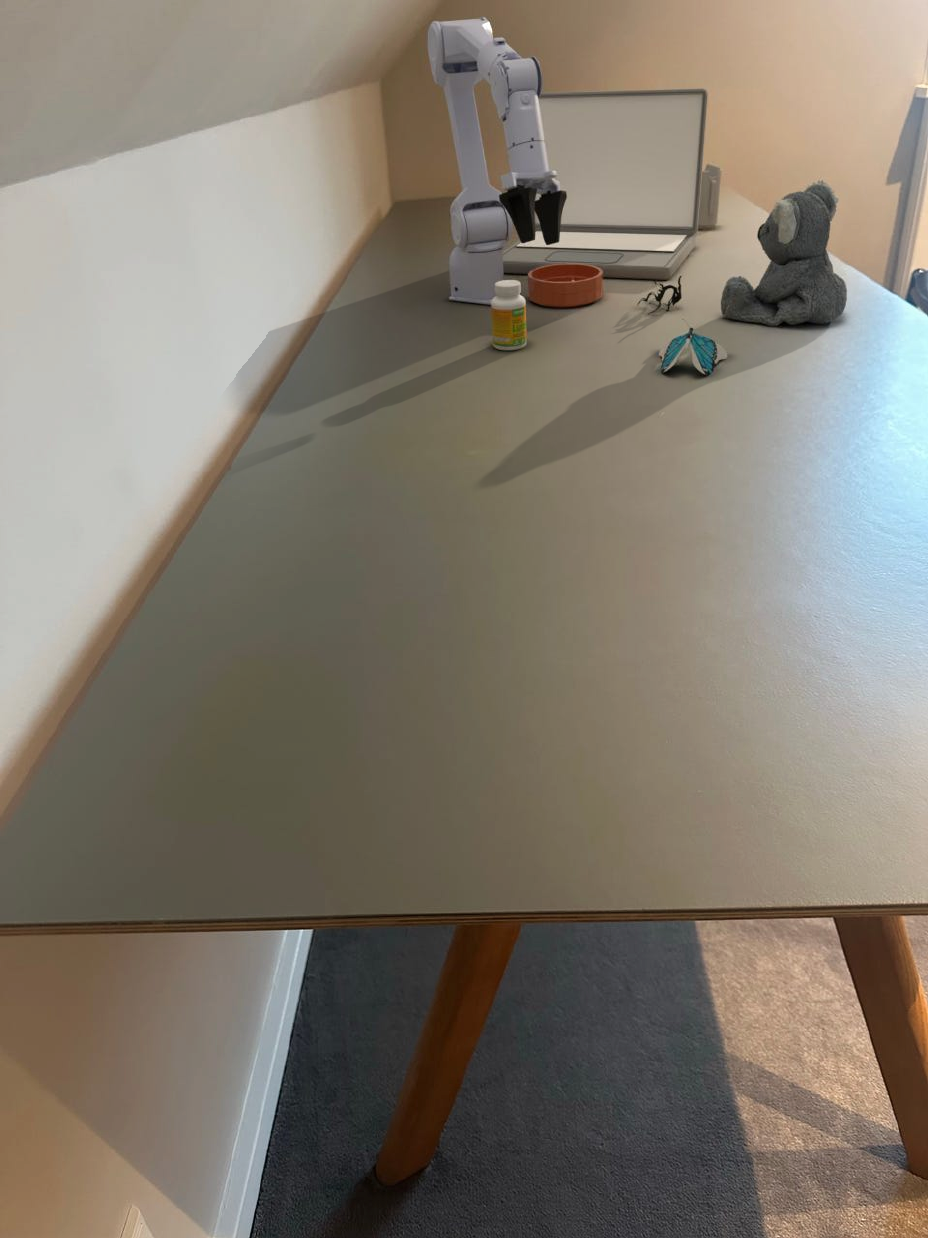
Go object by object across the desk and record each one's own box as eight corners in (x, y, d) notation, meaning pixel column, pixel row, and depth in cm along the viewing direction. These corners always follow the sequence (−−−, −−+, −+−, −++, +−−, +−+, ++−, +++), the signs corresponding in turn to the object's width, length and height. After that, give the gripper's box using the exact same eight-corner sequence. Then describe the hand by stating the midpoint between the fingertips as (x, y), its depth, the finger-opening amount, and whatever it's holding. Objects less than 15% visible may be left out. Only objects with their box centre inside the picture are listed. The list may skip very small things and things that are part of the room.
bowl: (515, 304, 168) (514, 278, 166) (550, 285, 177) (549, 260, 175) (581, 312, 162) (582, 285, 160) (614, 292, 171) (614, 266, 169)
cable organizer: (699, 218, 217) (703, 161, 210) (723, 229, 207) (728, 169, 200) (672, 222, 216) (675, 164, 209) (694, 232, 206) (699, 172, 199)
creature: (637, 321, 159) (685, 311, 157) (632, 290, 157) (680, 279, 154) (640, 308, 166) (685, 297, 163) (634, 277, 163) (680, 266, 160)
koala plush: (767, 294, 164) (782, 172, 153) (866, 311, 153) (889, 181, 142) (711, 318, 155) (723, 190, 144) (812, 338, 144) (833, 201, 133)
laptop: (489, 274, 187) (482, 109, 171) (533, 241, 208) (531, 92, 192) (668, 281, 175) (679, 105, 159) (696, 246, 196) (709, 87, 180)
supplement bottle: (516, 352, 146) (514, 289, 141) (486, 348, 149) (483, 285, 143) (532, 342, 150) (531, 279, 145) (503, 338, 152) (501, 276, 147)
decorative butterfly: (648, 349, 132) (660, 311, 138) (647, 388, 137) (659, 350, 143) (721, 353, 129) (731, 314, 135) (718, 393, 134) (728, 353, 140)
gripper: (524, 132, 132) (539, 233, 135) (572, 144, 144) (585, 237, 147) (483, 148, 136) (499, 245, 139) (532, 158, 148) (546, 248, 151)
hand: (540, 242), depth 143 cm, fingers open, 7 cm apart
